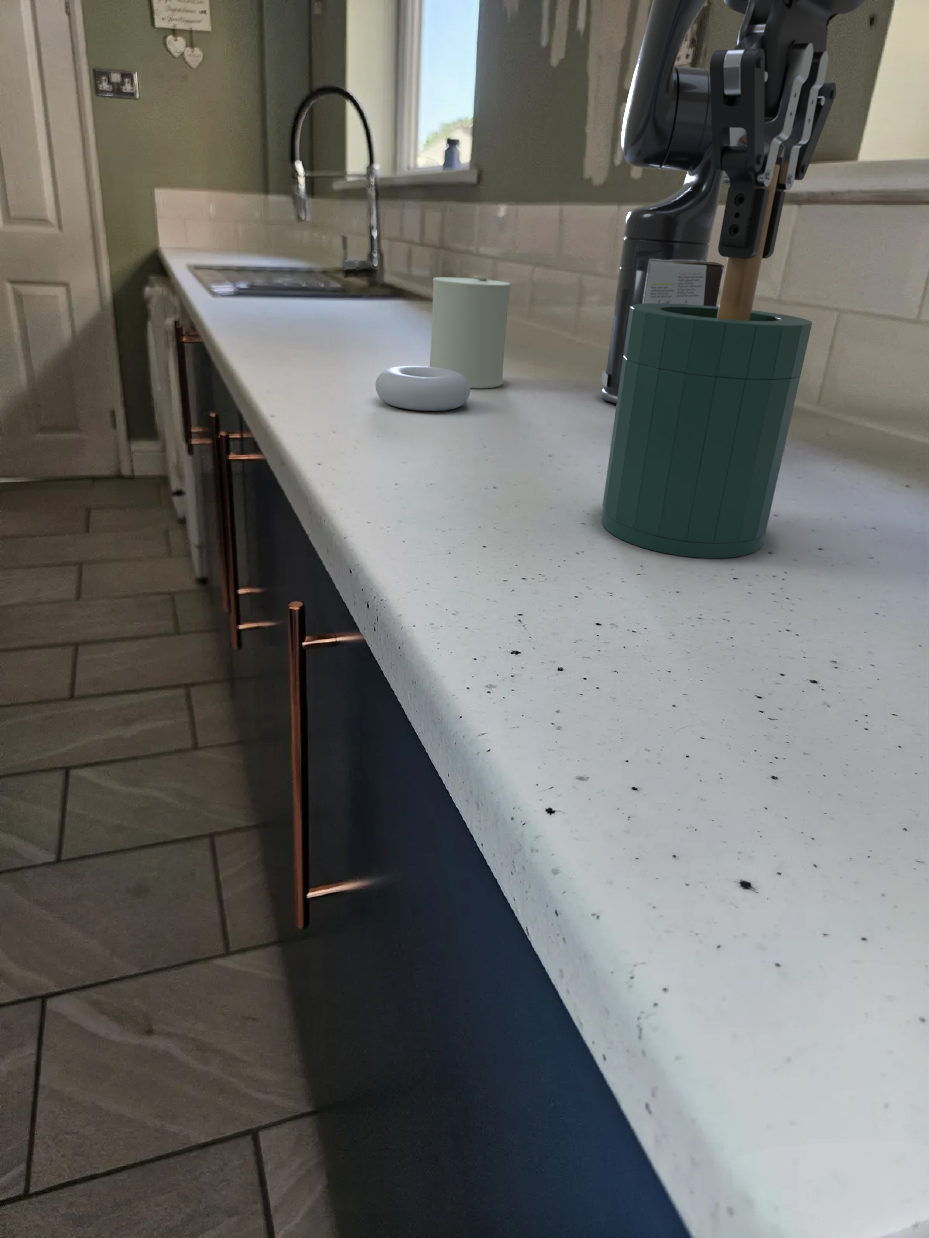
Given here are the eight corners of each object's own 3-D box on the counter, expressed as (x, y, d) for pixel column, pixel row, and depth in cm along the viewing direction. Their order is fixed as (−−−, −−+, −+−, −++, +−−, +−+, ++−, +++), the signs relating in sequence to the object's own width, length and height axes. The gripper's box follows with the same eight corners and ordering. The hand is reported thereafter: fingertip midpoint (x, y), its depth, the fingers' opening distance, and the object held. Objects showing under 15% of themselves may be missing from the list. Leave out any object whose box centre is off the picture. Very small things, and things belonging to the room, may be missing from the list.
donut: (434, 420, 86) (487, 404, 94) (436, 384, 85) (489, 372, 92) (355, 404, 91) (411, 390, 98) (355, 370, 89) (412, 359, 97)
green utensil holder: (646, 496, 66) (677, 301, 60) (786, 532, 60) (835, 320, 54) (571, 526, 58) (598, 306, 52) (723, 571, 52) (773, 329, 46)
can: (512, 381, 109) (521, 278, 104) (488, 392, 101) (496, 281, 96) (444, 372, 112) (450, 271, 107) (415, 382, 104) (420, 274, 99)
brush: (682, 480, 62) (738, 166, 54) (749, 497, 59) (819, 169, 51) (649, 494, 59) (704, 159, 50) (719, 512, 56) (789, 161, 47)
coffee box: (692, 453, 80) (725, 264, 73) (621, 445, 81) (648, 258, 74) (688, 432, 88) (718, 260, 81) (624, 425, 89) (649, 255, 82)
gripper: (787, -59, 52) (730, 253, 60) (688, -135, 42) (635, 251, 50) (920, -74, 48) (842, 263, 56) (845, -162, 38) (762, 263, 46)
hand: (744, 256), depth 53 cm, fingers closed on brush
